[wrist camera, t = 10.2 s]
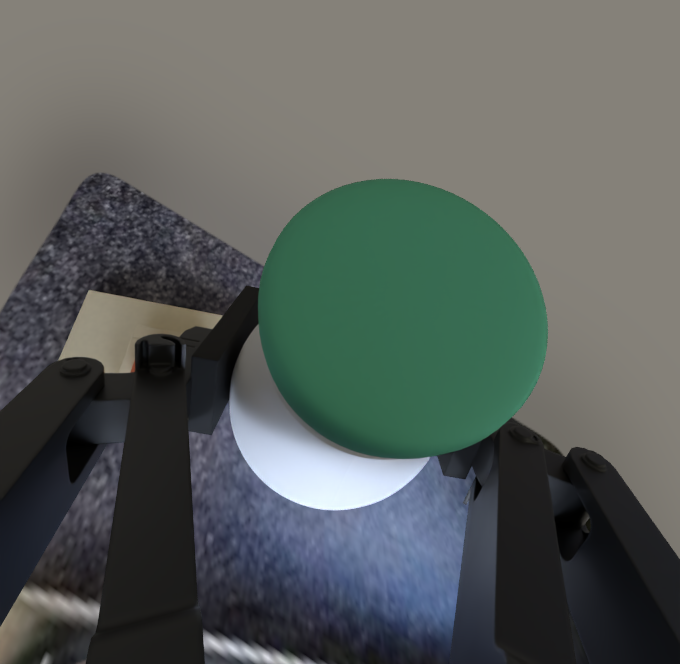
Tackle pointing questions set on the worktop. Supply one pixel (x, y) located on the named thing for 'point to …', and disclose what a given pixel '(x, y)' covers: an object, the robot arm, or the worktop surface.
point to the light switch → (125, 328)
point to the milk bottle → (383, 342)
